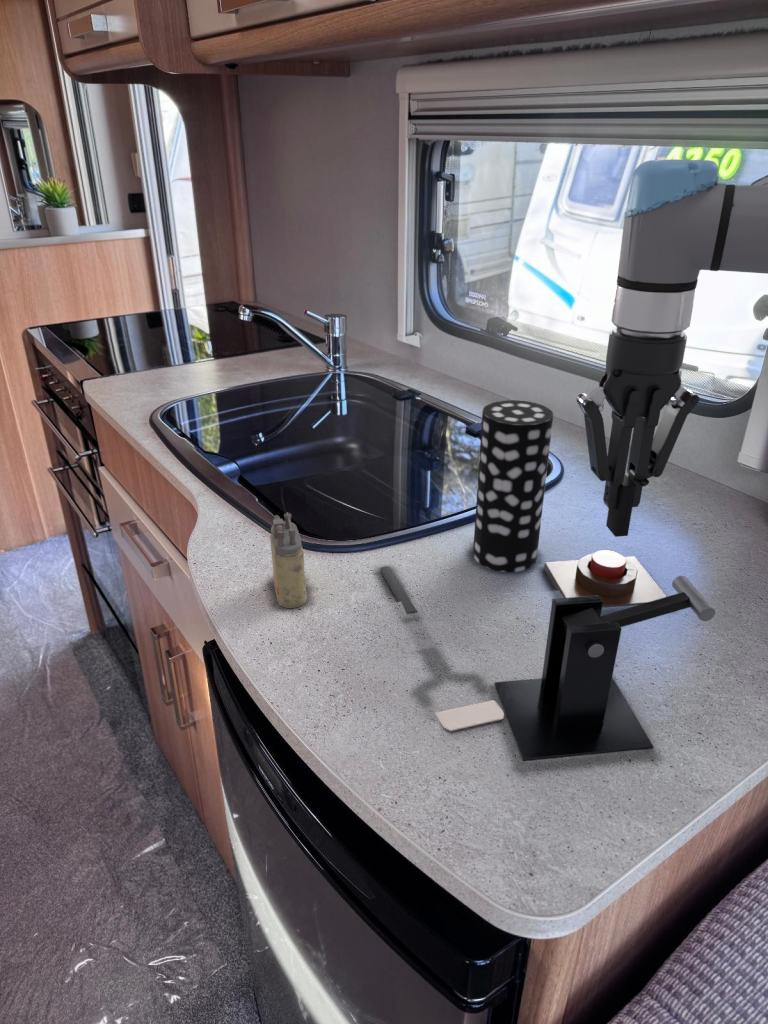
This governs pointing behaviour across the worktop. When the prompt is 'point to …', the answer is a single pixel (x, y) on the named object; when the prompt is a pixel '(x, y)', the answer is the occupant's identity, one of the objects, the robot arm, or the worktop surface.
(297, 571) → the lighter
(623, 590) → the button block
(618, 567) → the button
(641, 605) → the lever
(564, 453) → the worktop surface
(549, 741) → the bracket
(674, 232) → the robot arm
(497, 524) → the white-spotted black cylinder
